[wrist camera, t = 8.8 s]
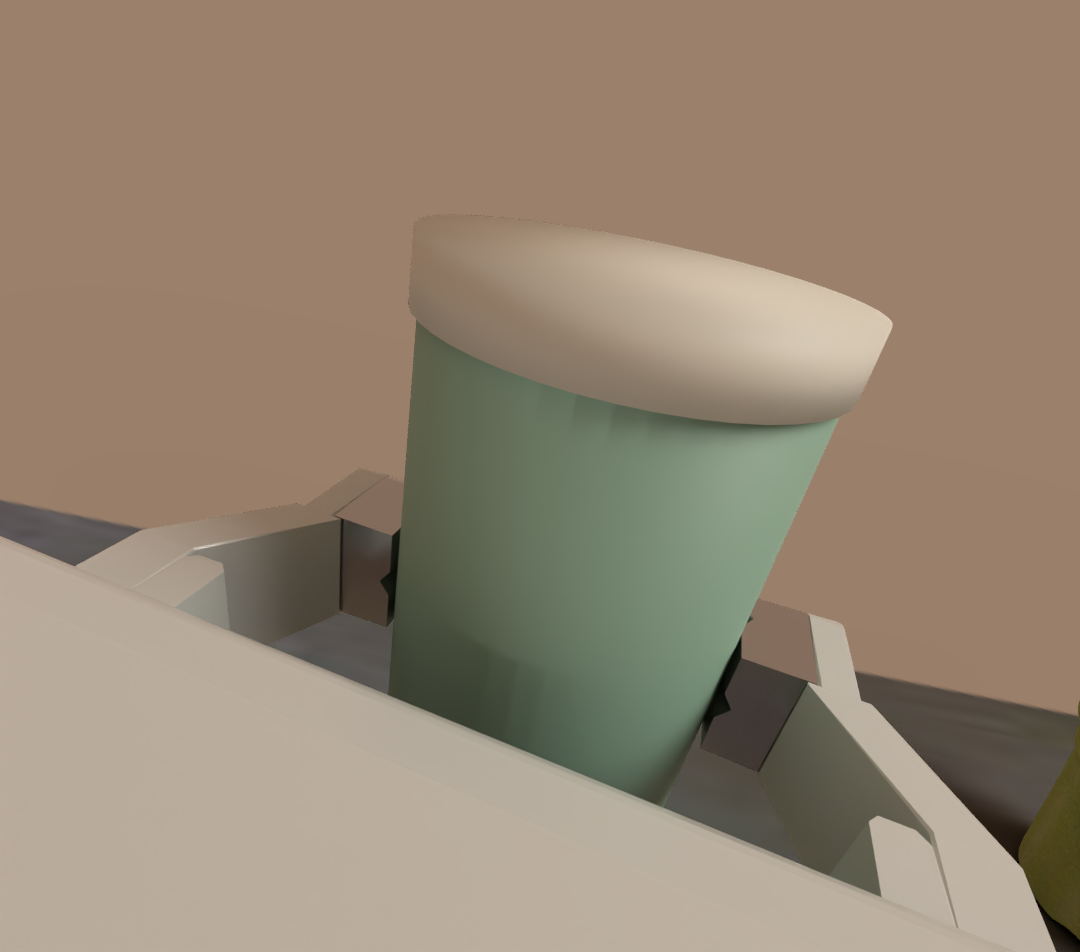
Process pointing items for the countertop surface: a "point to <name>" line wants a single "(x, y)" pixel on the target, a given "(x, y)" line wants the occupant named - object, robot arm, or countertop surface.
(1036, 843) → the plant pot
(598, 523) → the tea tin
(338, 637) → the countertop surface
